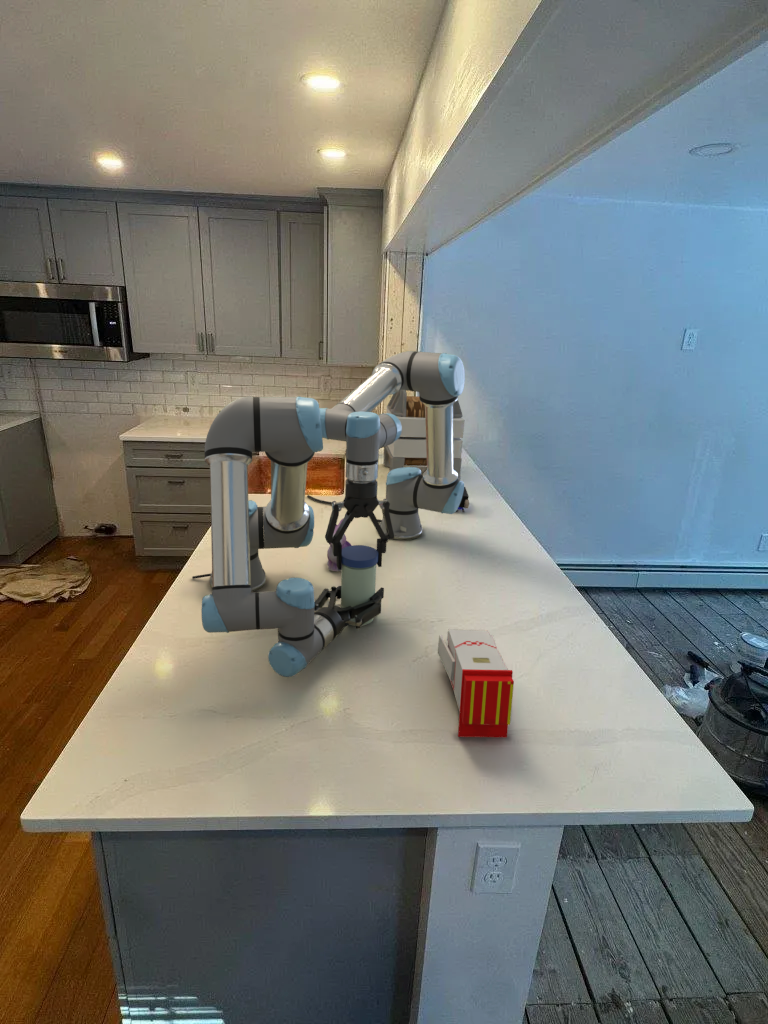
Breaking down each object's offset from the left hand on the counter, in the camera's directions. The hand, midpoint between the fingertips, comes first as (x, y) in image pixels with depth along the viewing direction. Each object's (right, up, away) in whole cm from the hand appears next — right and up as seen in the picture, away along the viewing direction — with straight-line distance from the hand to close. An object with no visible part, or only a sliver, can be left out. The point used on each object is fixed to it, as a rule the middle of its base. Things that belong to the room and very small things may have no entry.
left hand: (366, 588), depth 147 cm
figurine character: (+35, +21, +82) cm, 91 cm away
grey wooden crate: (+22, +39, +128) cm, 135 cm away
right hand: (-2, +6, -7) cm, 9 cm away
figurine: (-9, +3, +26) cm, 28 cm away
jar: (-2, -7, -2) cm, 8 cm away
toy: (+23, -18, -28) cm, 40 cm away
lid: (-1, +9, -8) cm, 12 cm away
